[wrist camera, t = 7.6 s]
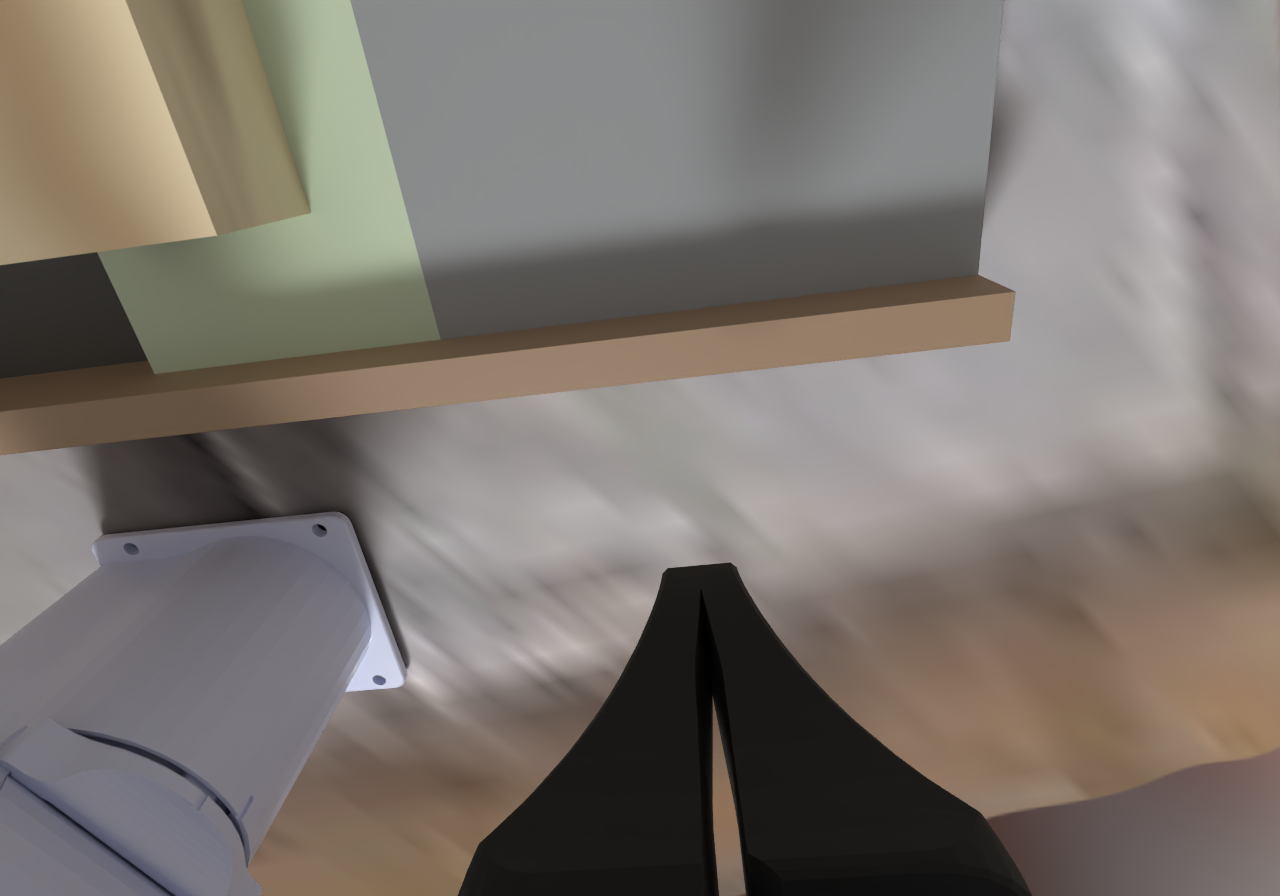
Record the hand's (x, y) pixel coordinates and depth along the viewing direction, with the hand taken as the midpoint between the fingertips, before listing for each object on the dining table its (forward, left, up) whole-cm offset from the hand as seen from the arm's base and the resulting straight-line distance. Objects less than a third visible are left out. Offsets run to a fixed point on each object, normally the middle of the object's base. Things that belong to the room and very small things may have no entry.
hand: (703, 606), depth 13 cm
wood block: (-12, +10, -7) cm, 17 cm away
